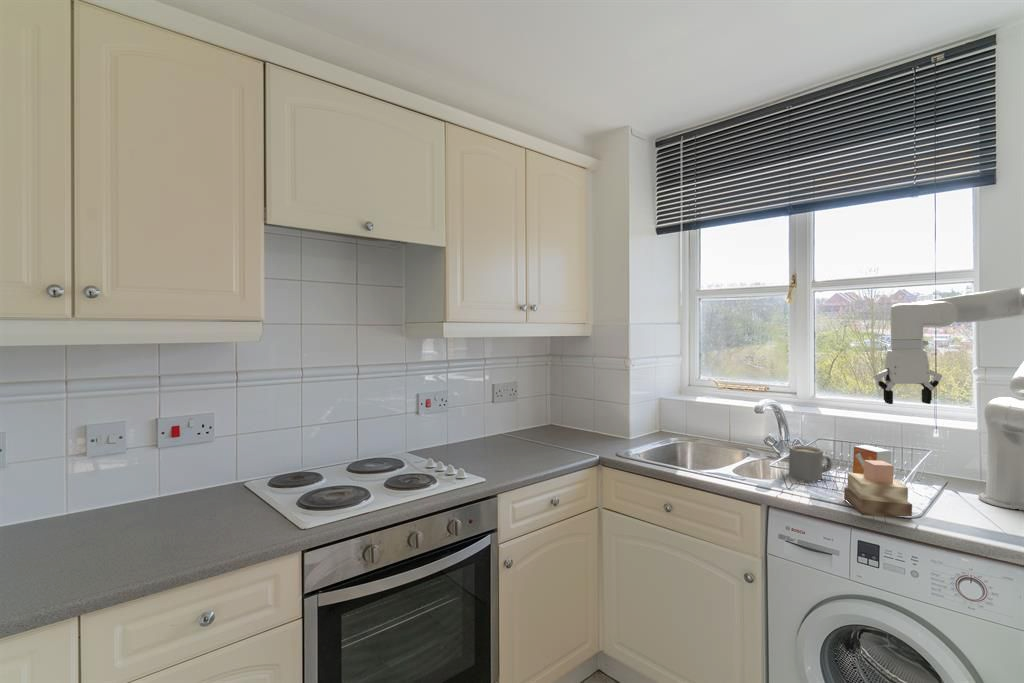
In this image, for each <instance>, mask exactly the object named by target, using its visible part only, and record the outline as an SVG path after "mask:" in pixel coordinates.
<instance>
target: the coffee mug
mask: <svg viewBox="0 0 1024 683" xmlns="http://www.w3.org/2000/svg"><path fill="white" fill-rule="evenodd" d="M788 452H789V454H788V458H789V459H788V476H789V477H790V478H792V479H794V480H797V481H801V482H807V481H818V480H821V479H822V480H823V473H824V474H825V473H827V472H829V471H831V469H832V468H833V459H832V457H831V456H830V455H828V454H825V453H824V452H823V449H821V448H818V447H815V446H809V445H800V444H799V445H798V444H797V445H795V444H794V445H790V446H789V450H788ZM824 459H826V461H827V464H826V466H823V460H824Z"/></svg>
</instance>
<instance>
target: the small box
mask: <svg viewBox="0 0 1024 683" xmlns="http://www.w3.org/2000/svg"><path fill="white" fill-rule="evenodd" d="M852 460H853V461H852V473H857V474H864V460H875V461H884V462H887V463H889V464H891V465H892V463H891V462H892V450H890V449H885V448H881V447H877V446H873V445H869V444H861V445H854V446H853V458H852Z"/></svg>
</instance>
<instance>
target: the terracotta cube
mask: <svg viewBox="0 0 1024 683" xmlns="http://www.w3.org/2000/svg"><path fill="white" fill-rule="evenodd" d="M864 477H865V478H867V479H868V480H870V481H872V482H877V483H893V478H894V465H893V464H892V463H891V464H889V463H887V462H884V461H875V460H864Z"/></svg>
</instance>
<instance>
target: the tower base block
mask: <svg viewBox="0 0 1024 683" xmlns="http://www.w3.org/2000/svg"><path fill="white" fill-rule="evenodd" d="M843 489H844V491H843V500H844V499H845V500H847V501H848V502H849V503H850V504H851V505H852V506H853V507H854V508H855V509H854V508H853V507H852V506H851V505H850V506H851V507H852V508H853V509H854V510H856V511H857V512H858V513H860V515H862V516H871V517H881V518H882V517H884V518H885V517H886V518H895V517H897V516H898V517H899V516H913V503H911V502H909V501H908V503H907V504H902V503H892V502H881V501H870V500H861V499H860V498H859V497H858V496H856V495H855V494H854V493H853V492H852V491H851V490H850V489H849V488H848V486H845V487H844V488H843Z"/></svg>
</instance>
